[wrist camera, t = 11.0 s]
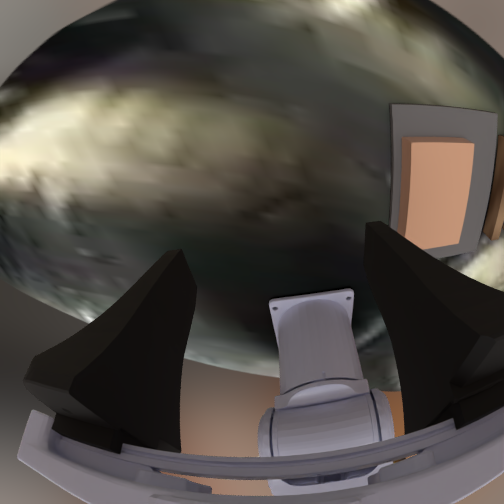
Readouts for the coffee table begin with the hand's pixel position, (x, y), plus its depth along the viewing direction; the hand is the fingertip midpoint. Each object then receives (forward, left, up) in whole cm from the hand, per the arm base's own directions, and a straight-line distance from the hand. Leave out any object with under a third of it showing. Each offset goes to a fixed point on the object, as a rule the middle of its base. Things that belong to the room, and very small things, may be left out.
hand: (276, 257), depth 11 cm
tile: (-3, -16, -9) cm, 18 cm away
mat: (-3, -15, -10) cm, 18 cm away
